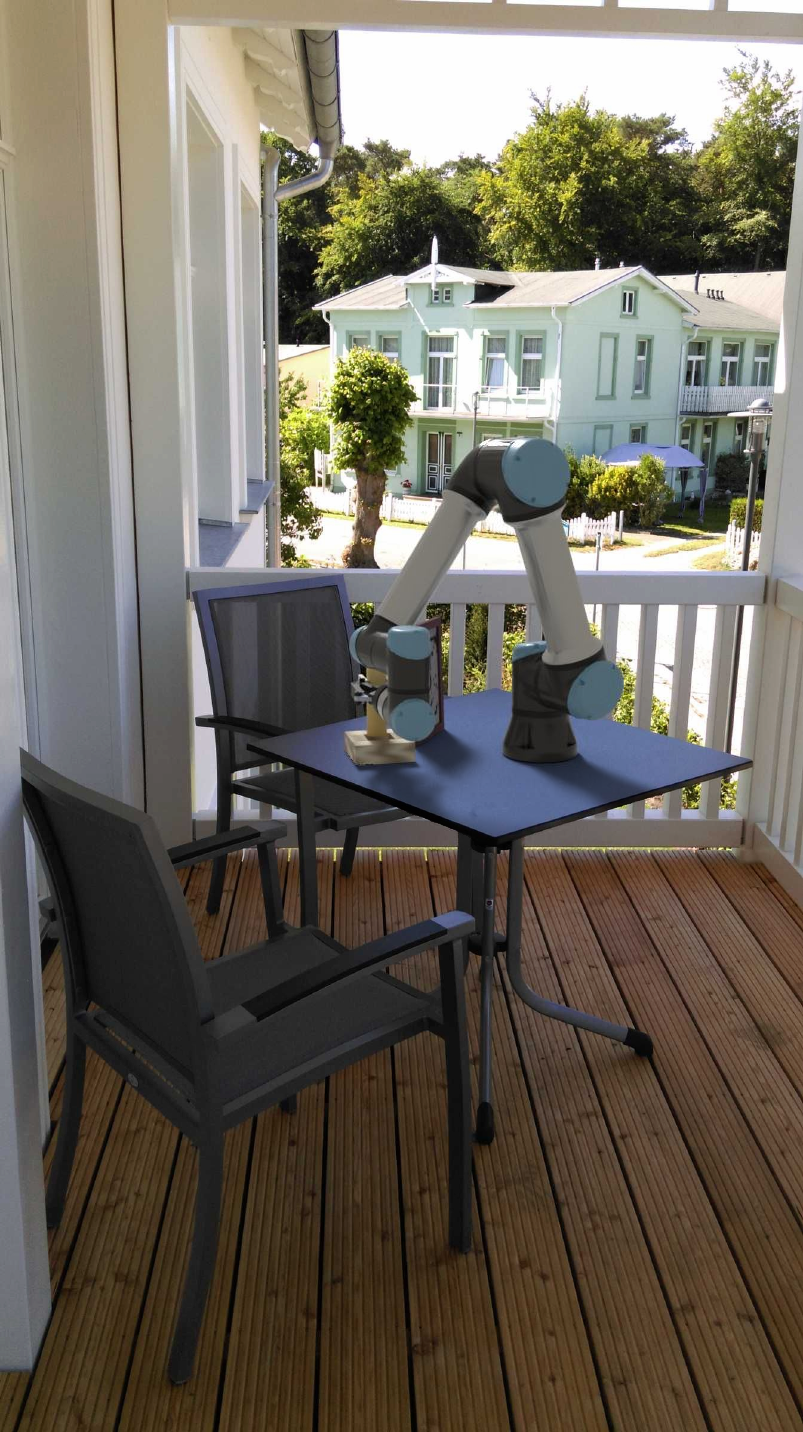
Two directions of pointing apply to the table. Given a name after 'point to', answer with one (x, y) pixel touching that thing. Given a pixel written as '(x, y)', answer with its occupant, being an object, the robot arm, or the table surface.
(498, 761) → the table surface
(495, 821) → the table surface
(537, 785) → the table surface
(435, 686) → the picture frame
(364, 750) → the socket block
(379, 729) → the peg
